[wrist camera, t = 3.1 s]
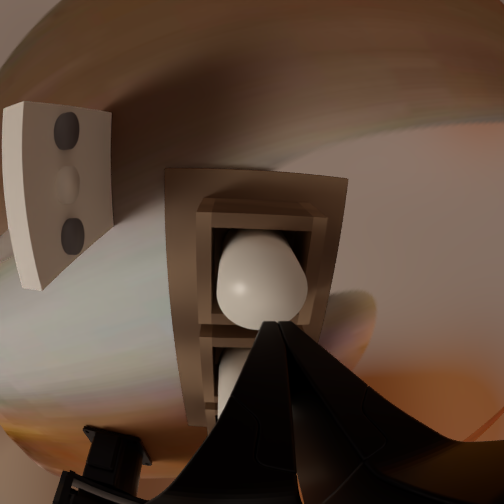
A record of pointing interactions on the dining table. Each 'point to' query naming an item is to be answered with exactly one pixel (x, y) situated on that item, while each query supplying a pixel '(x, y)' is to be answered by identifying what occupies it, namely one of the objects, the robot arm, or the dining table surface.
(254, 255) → the white oval piece
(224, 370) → the button middle
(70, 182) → the card
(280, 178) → the brown button tray
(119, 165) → the dining table surface
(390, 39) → the dining table surface
